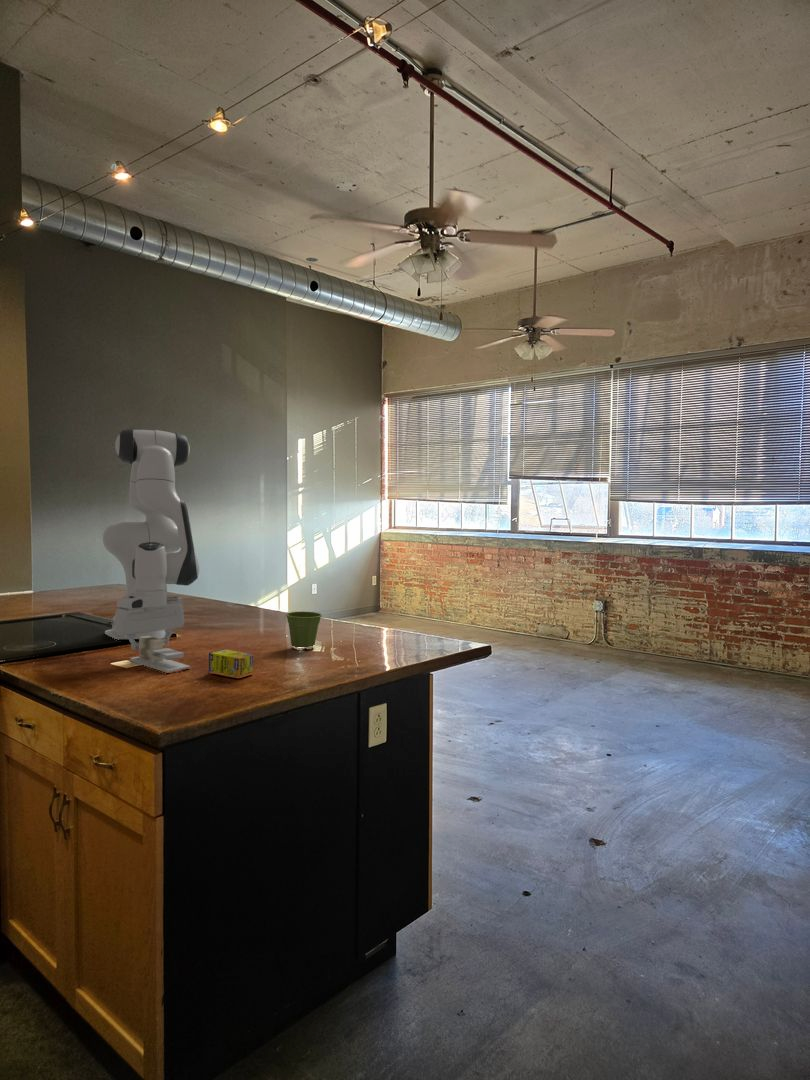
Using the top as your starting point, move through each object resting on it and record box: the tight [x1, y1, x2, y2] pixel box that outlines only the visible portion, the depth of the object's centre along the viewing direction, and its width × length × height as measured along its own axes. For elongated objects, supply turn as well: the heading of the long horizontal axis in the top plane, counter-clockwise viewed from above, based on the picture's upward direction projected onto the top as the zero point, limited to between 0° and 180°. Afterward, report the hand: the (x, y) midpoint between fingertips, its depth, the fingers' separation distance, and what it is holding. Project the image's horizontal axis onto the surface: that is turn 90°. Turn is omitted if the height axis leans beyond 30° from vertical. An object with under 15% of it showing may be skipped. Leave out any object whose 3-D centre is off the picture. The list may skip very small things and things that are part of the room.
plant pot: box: [284, 611, 323, 647], centre depth 223 cm, size 12×12×11 cm
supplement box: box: [208, 649, 254, 676], centre depth 188 cm, size 6×6×11 cm
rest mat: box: [129, 655, 191, 673], centre depth 196 cm, size 20×7×1 cm, turn 50°
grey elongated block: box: [138, 636, 185, 662], centre depth 196 cm, size 17×5×6 cm, turn 50°
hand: (150, 646), depth 199 cm, fingers open, 8 cm apart
